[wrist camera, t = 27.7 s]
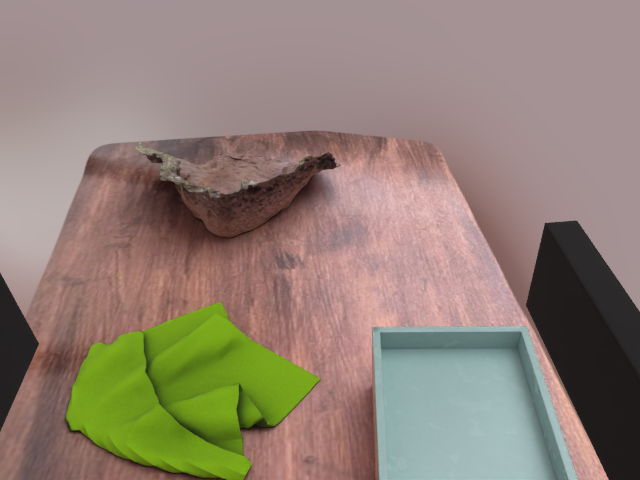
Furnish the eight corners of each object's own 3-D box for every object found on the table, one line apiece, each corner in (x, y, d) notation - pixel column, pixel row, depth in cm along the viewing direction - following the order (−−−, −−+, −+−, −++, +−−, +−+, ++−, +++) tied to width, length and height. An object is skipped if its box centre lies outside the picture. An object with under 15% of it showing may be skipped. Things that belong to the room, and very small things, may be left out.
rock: (342, 177, 83) (338, 109, 79) (342, 248, 64) (336, 164, 59) (171, 187, 85) (158, 121, 81) (119, 259, 65) (97, 179, 61)
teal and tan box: (572, 607, 36) (603, 554, 32) (380, 602, 37) (382, 550, 32) (512, 385, 50) (527, 325, 45) (371, 385, 50) (372, 326, 46)
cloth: (66, 346, 56) (58, 329, 55) (278, 287, 61) (276, 270, 60) (67, 547, 41) (55, 532, 39) (350, 446, 46) (349, 429, 44)
